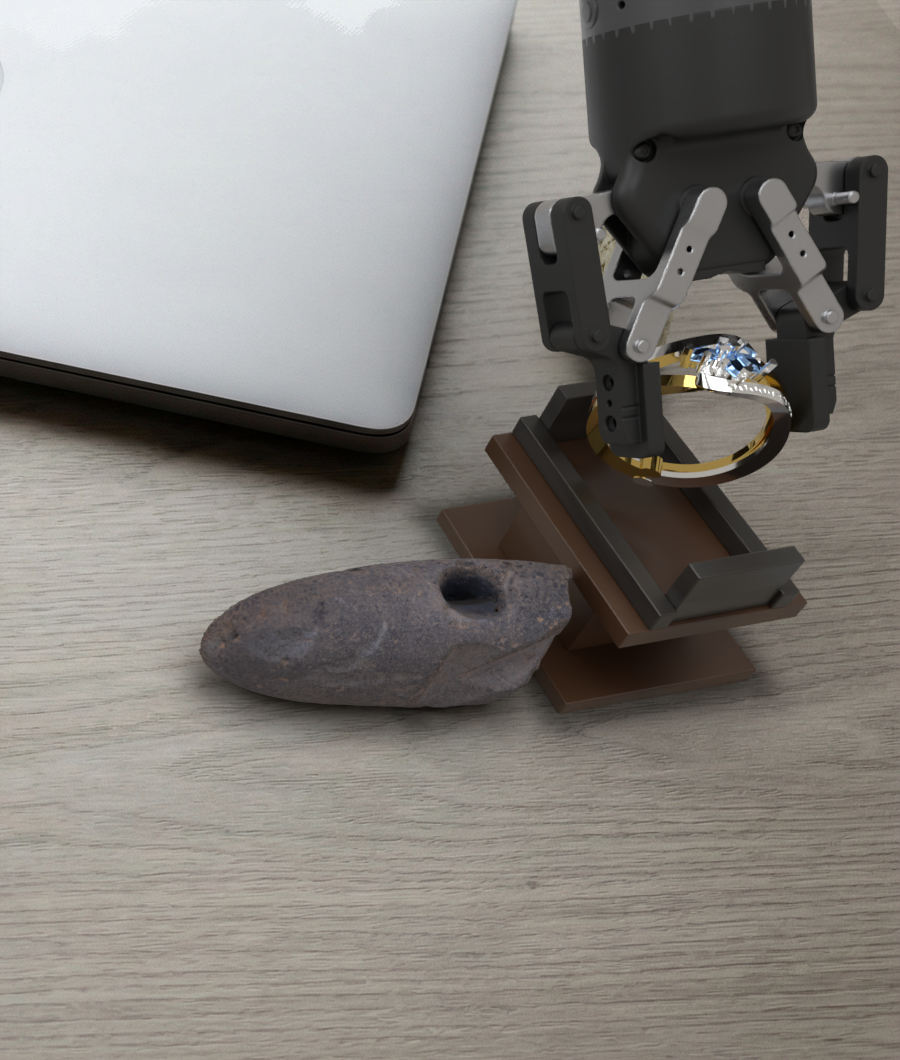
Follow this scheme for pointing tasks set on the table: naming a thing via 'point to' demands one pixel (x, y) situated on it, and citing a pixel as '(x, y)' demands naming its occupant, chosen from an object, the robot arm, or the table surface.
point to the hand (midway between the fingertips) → (719, 442)
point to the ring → (721, 373)
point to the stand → (626, 562)
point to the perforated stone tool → (395, 633)
